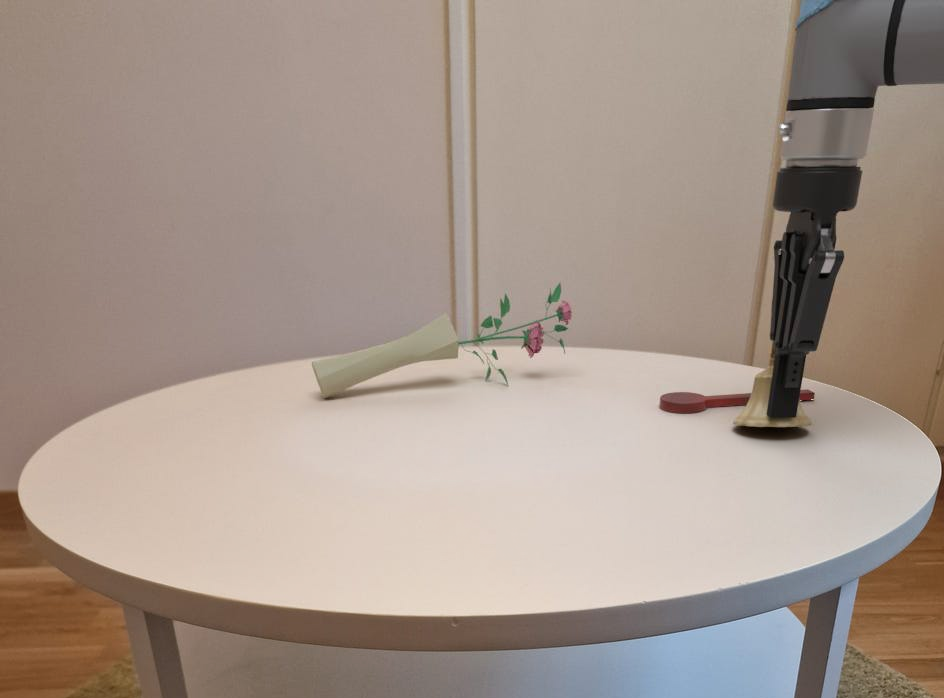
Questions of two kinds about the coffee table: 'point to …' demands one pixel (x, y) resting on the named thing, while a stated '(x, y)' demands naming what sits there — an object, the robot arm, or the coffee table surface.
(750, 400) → the hand bell
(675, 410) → the spoon
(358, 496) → the coffee table surface
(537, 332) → the flower vase
